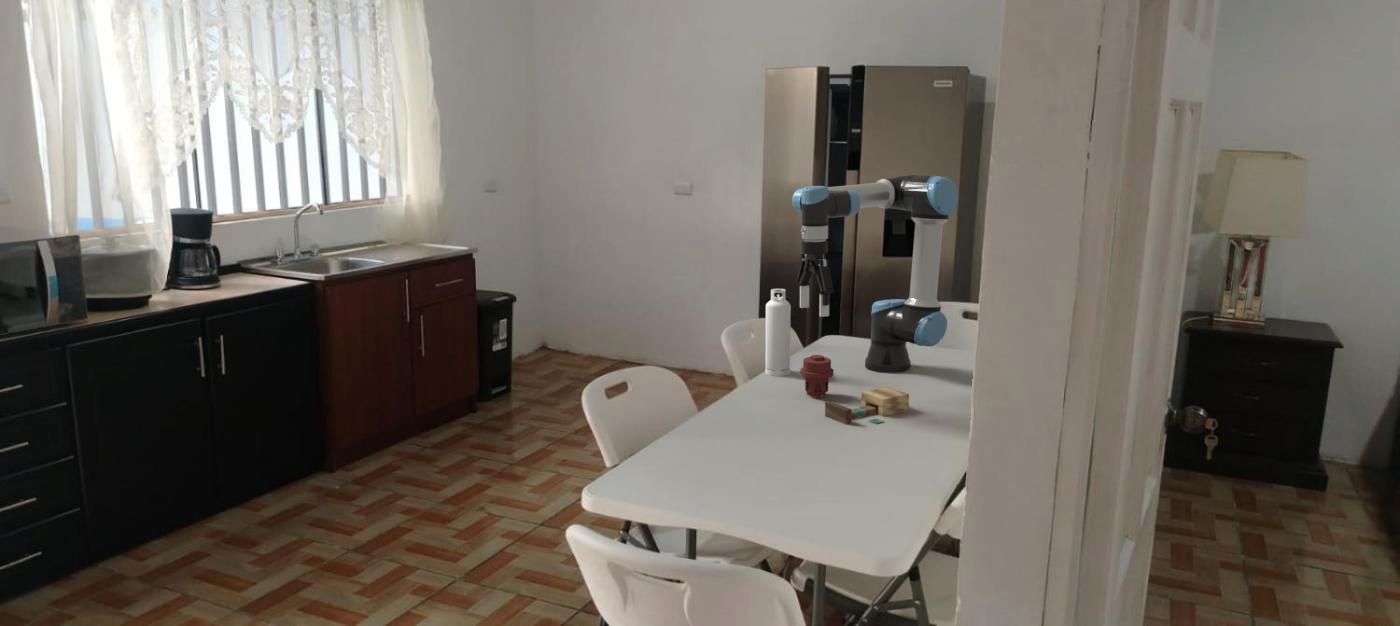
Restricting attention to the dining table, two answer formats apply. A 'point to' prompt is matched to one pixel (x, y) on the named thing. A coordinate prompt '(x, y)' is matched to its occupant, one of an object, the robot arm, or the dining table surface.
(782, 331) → the bottle
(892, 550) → the dining table surface
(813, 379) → the mechanical component
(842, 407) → the wooden block assembly
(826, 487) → the dining table surface
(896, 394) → the light wooden box
